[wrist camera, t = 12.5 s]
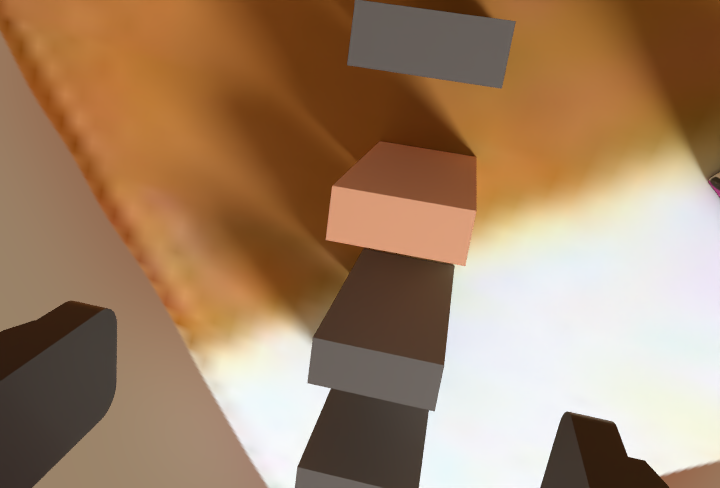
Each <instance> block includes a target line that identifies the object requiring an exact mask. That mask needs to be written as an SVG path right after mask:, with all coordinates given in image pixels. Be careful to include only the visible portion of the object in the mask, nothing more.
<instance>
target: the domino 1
mask: <svg viewBox="0 0 720 488" xmlns="http://www.w3.org/2000/svg"><path fill="white" fill-rule="evenodd" d="M515 22H516V21H510V20H502V19H495V18H488V17H480V16H473V15H466V14H458V13H451V12H444V11H436V10H429V9H422V8H414V7H407V6H400V5H392V4H385V3H378V2H370V1H363V0H355V5H354V13H353V21H352V30H351V38H350V46H349V54H348V62H347V65H349V66H356V67H363V68H369V69H376V70H383V71H389V72H396V73H402V74H409V75H416V76H422V77H429V78H436V79H442V80H449V81H455V82H462V83H469V84H475V85H482V86H489V87H495V88H502V85H503V80H504V75H505V70H506V65H507V61H508V56H509V51H510V46H511V41H512V36H513V31H514V27H515Z"/></svg>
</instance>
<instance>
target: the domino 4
mask: <svg viewBox="0 0 720 488" xmlns="http://www.w3.org/2000/svg"><path fill="white" fill-rule="evenodd" d="M428 412H429V410H427V409H422V408H418V407H413V406H409V405H404V404H400V403H395V402H391V401H386V400H382V399H377V398H373V397H368V396H364V395H359V394H355V393H350V392H346V391H341V390H337V389H332V388H331V390H330V392H329V395H328V397H327V399H326V402H325V404H324V406H323V409H322V411H321V413H320V416H319V418H318V420H317V423H316V425H315V427H314V430H313V432H312V434H311V437H310V439H309V441H308V444H307V446H306V448H305V451H304V453H303V455H302V458H301V460H300V462H299V465H298V467H297V475H296V483H295V488H419V481H420V473H421V466H422V458H423V450H424V443H425V435H426V427H427V420H428Z"/></svg>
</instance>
